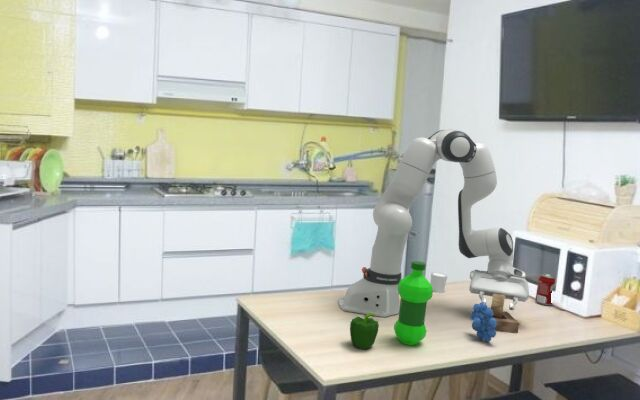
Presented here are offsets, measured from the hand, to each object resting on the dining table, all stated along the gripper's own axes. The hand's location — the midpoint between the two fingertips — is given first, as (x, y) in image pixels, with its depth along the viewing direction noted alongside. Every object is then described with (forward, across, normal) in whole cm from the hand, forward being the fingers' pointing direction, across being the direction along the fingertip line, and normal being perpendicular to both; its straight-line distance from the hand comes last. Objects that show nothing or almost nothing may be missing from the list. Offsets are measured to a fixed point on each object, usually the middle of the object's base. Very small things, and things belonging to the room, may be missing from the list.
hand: (497, 306), depth 192 cm
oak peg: (+4, 0, +5) cm, 7 cm away
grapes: (+17, -6, -7) cm, 20 cm away
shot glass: (-19, -21, +29) cm, 41 cm away
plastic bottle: (+27, -28, -17) cm, 43 cm away
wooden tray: (+4, 0, +5) cm, 7 cm away
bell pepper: (+35, -40, -25) cm, 59 cm away
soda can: (-25, +22, +34) cm, 48 cm away
